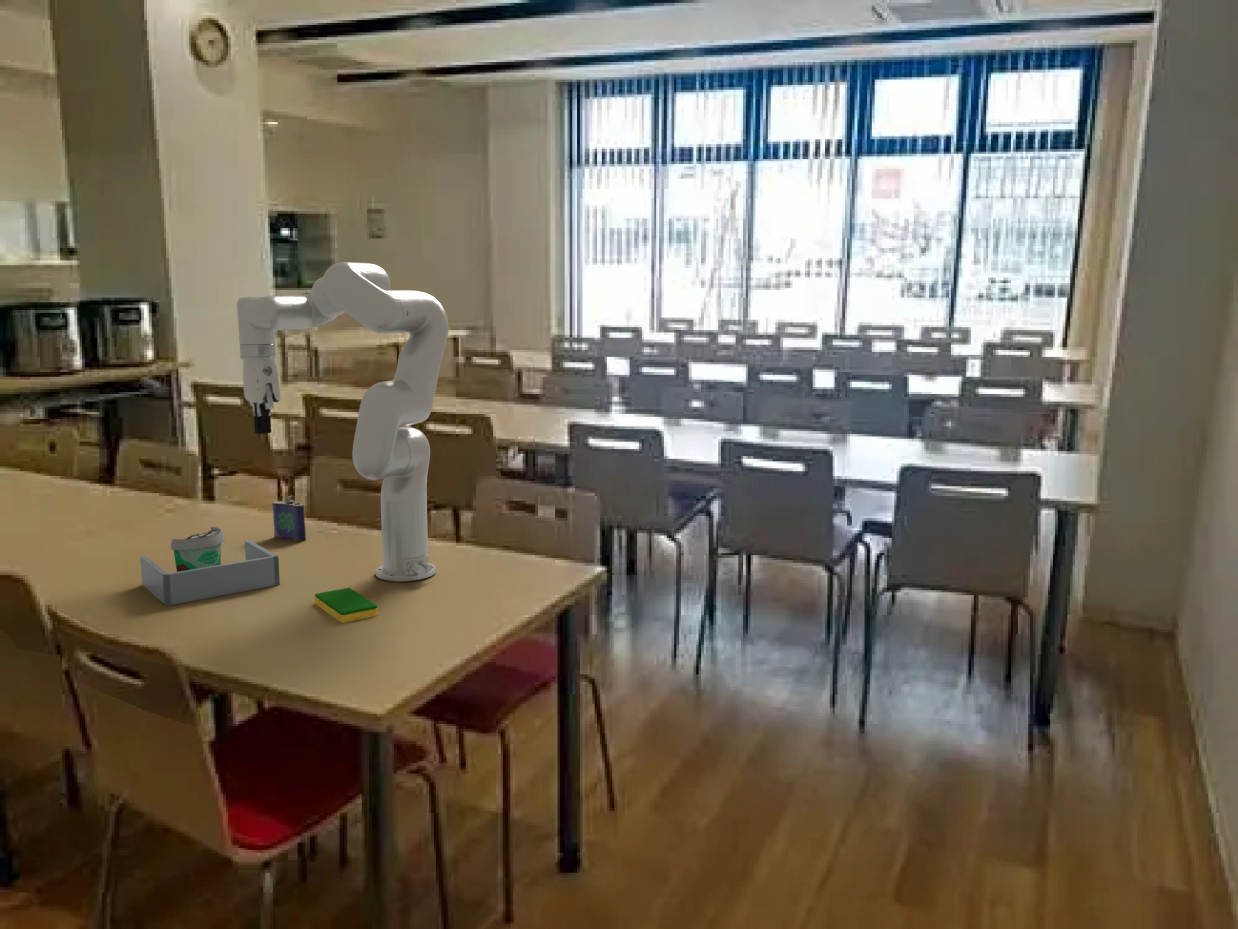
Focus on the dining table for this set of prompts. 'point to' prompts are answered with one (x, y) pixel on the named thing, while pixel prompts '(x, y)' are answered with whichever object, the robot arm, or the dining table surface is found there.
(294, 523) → the flask
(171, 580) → the grey u-shaped frame
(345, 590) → the dish sponge
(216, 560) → the food container
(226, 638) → the dining table surface
